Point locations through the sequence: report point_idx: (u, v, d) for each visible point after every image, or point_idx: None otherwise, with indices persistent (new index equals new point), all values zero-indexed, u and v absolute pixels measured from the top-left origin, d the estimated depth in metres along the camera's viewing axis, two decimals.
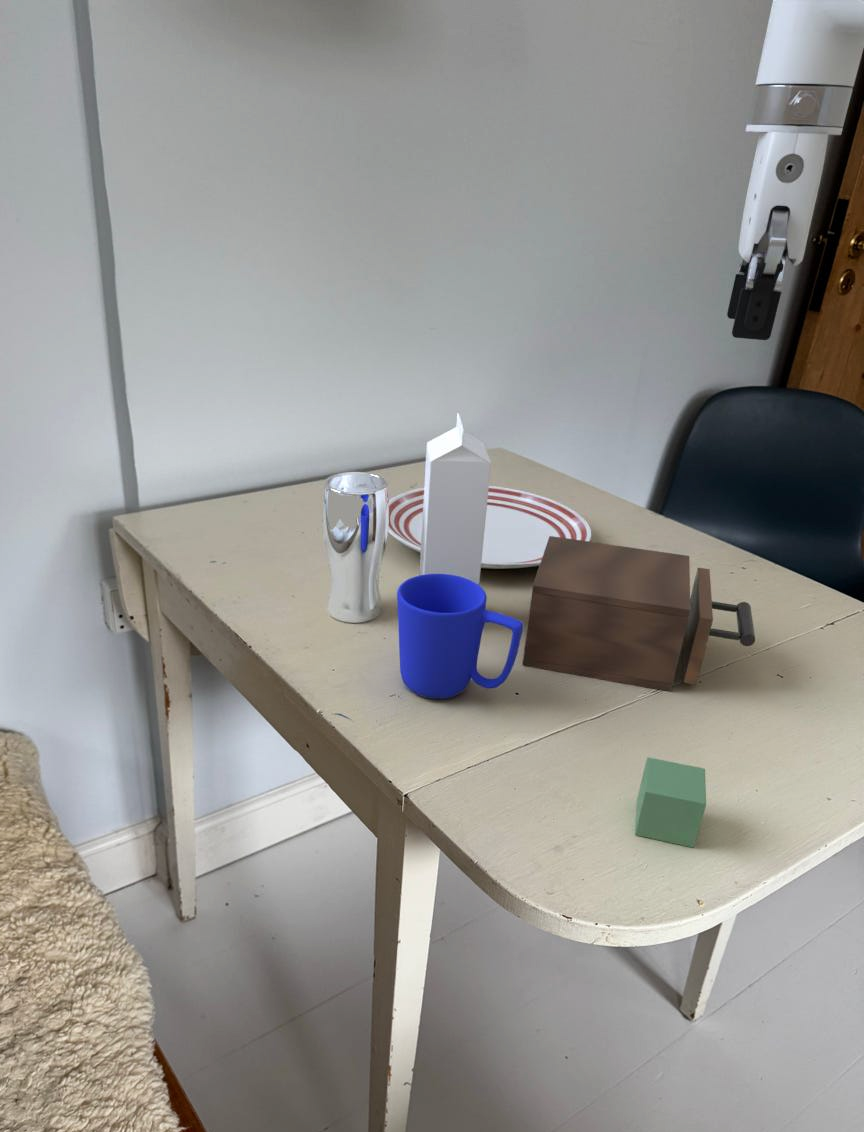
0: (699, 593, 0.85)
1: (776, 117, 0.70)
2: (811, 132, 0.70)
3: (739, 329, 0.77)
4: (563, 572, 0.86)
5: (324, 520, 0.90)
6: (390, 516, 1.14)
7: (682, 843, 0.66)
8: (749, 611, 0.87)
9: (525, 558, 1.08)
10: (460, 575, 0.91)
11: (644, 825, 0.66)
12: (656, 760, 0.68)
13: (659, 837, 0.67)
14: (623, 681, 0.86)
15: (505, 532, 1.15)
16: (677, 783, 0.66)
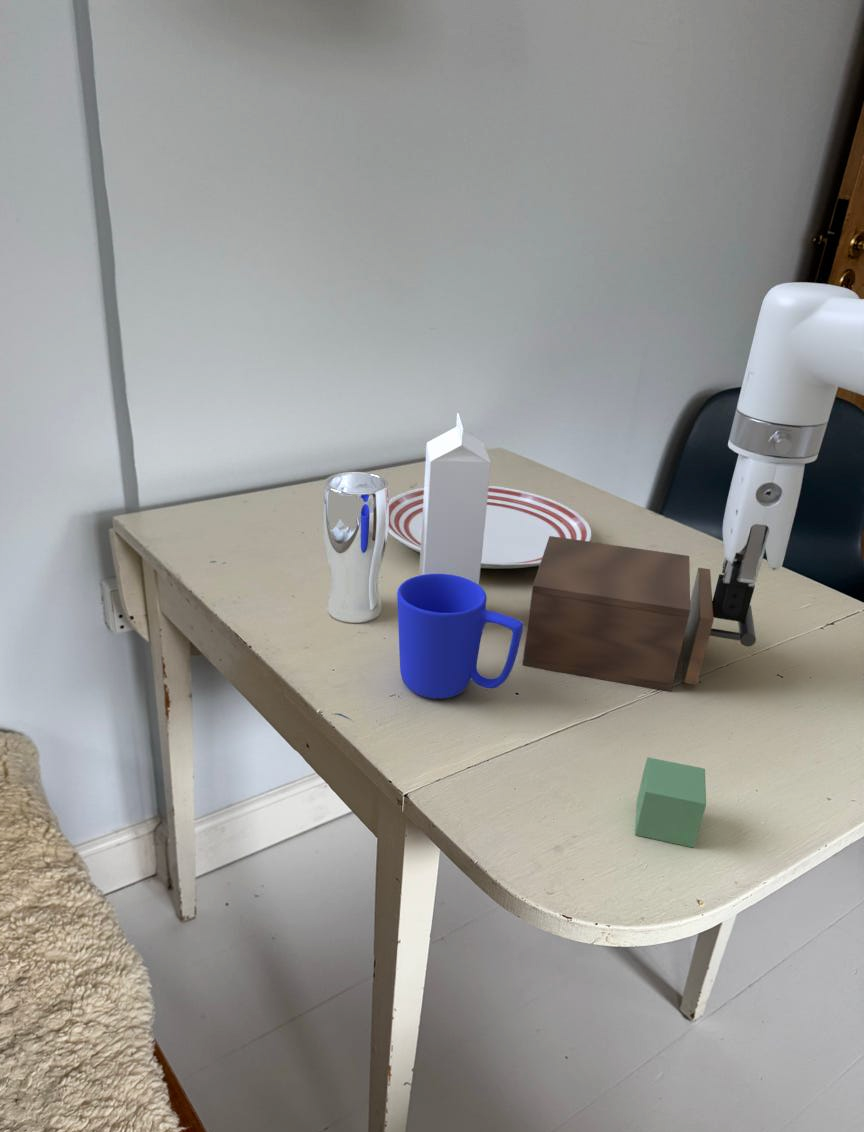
0: (700, 593, 0.85)
1: (756, 447, 0.75)
2: (788, 463, 0.74)
3: (717, 611, 0.85)
4: (563, 572, 0.86)
5: (324, 520, 0.90)
6: (390, 516, 1.14)
7: (682, 843, 0.66)
8: (750, 611, 0.87)
9: (525, 558, 1.08)
10: (460, 575, 0.91)
11: (644, 825, 0.66)
12: (656, 760, 0.68)
13: (659, 837, 0.67)
14: (623, 681, 0.86)
15: (505, 532, 1.15)
16: (677, 783, 0.66)
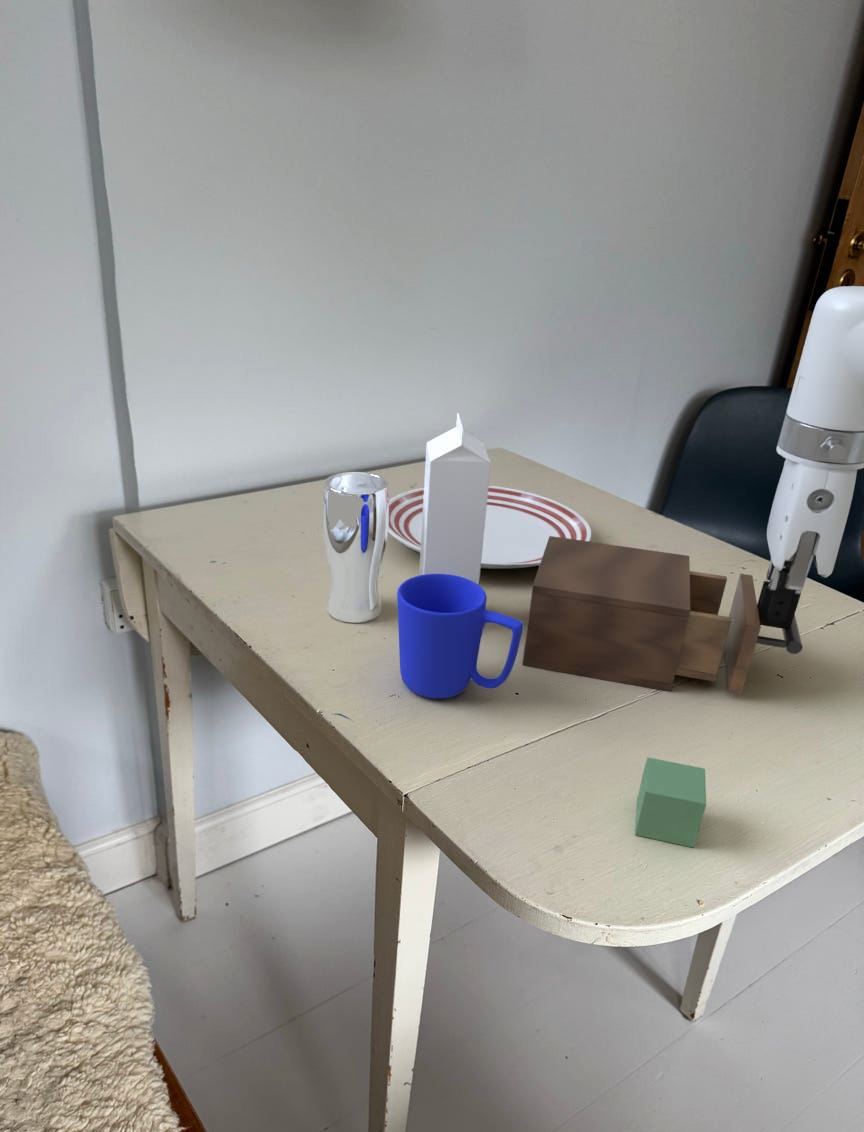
0: (744, 600, 0.84)
1: (807, 453, 0.74)
2: (841, 469, 0.73)
3: (762, 618, 0.84)
4: (563, 572, 0.86)
5: (324, 520, 0.90)
6: (390, 516, 1.14)
7: (682, 843, 0.66)
8: (794, 618, 0.86)
9: (525, 558, 1.08)
10: (460, 575, 0.91)
11: (644, 825, 0.66)
12: (656, 760, 0.68)
13: (659, 837, 0.67)
14: (623, 681, 0.86)
15: (505, 532, 1.15)
16: (677, 783, 0.66)
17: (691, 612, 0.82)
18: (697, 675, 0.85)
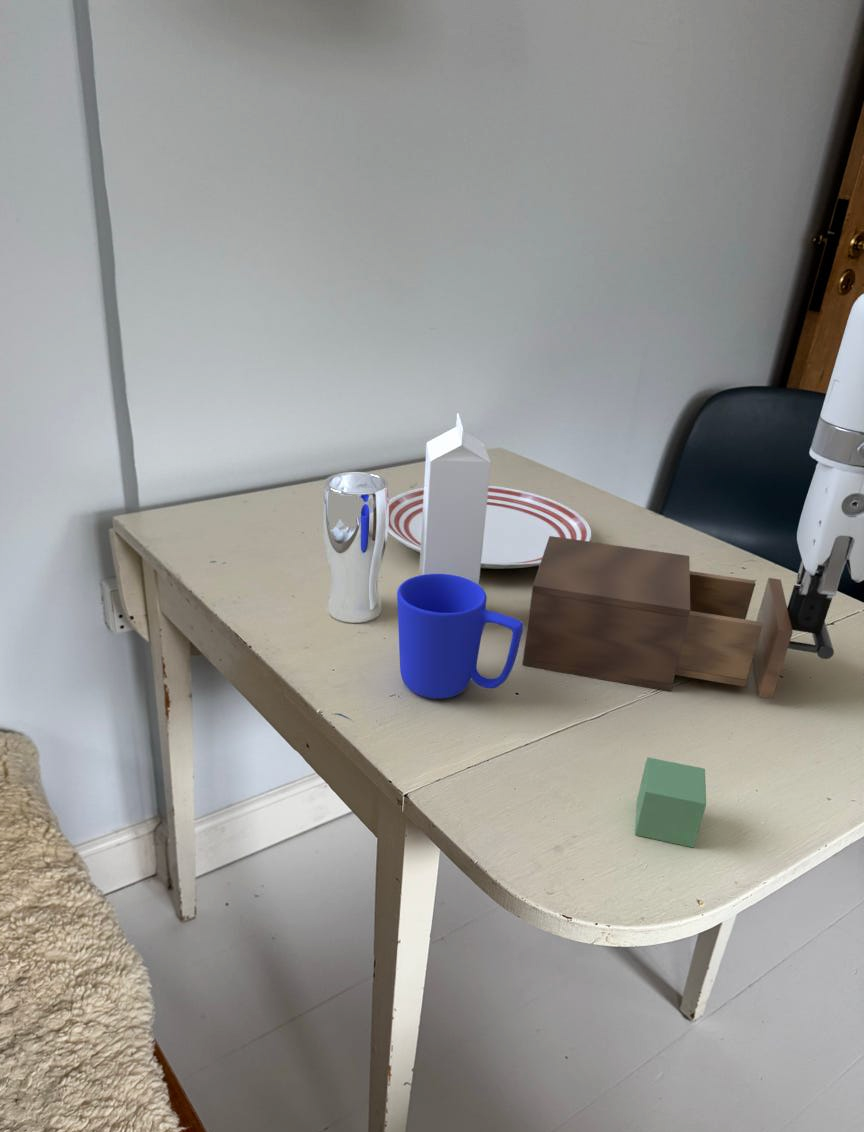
0: (774, 604, 0.84)
1: (842, 457, 0.73)
2: None
3: (792, 623, 0.84)
4: (563, 572, 0.86)
5: (324, 520, 0.90)
6: (390, 516, 1.14)
7: (682, 843, 0.66)
8: (824, 623, 0.85)
9: (525, 558, 1.08)
10: (460, 575, 0.91)
11: (644, 825, 0.66)
12: (656, 760, 0.68)
13: (659, 837, 0.67)
14: (623, 681, 0.86)
15: (505, 532, 1.15)
16: (677, 783, 0.66)
17: (722, 617, 0.81)
18: (727, 680, 0.84)
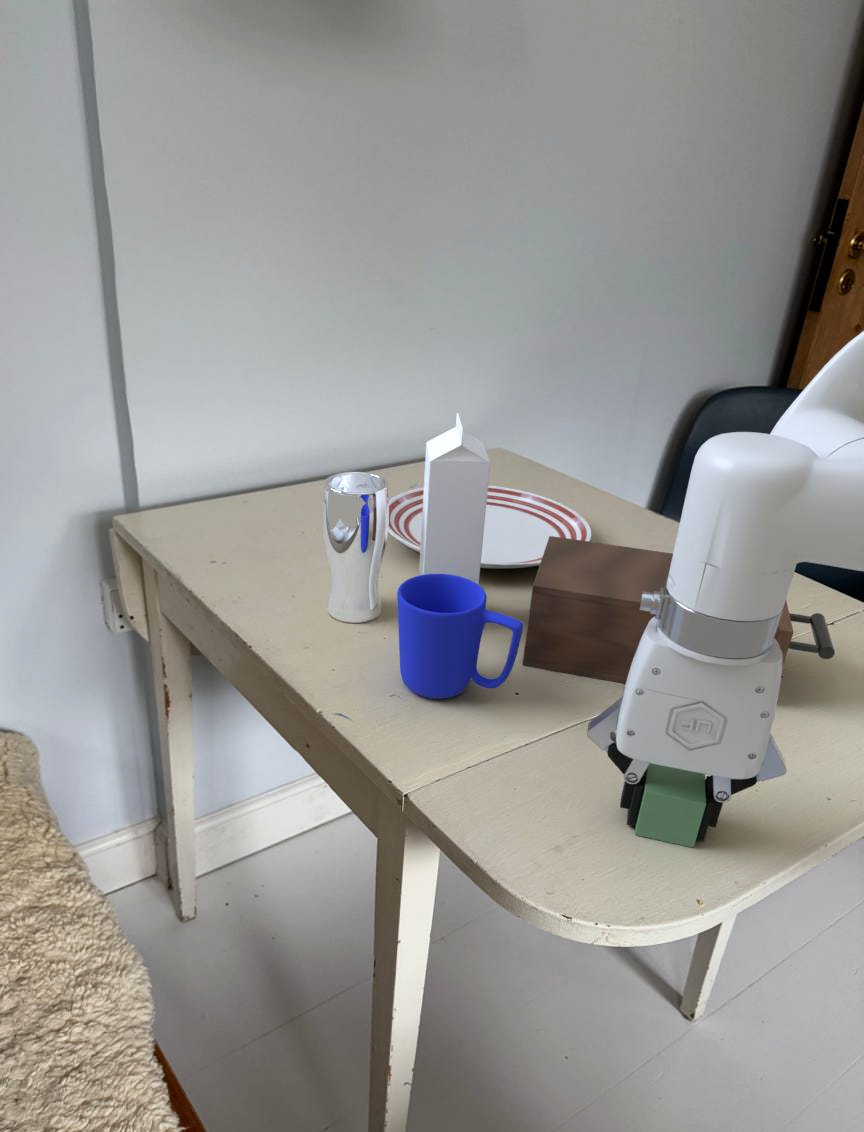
0: None
1: None
2: (658, 634, 0.60)
3: None
4: (563, 572, 0.86)
5: (324, 520, 0.90)
6: (390, 516, 1.14)
7: (682, 843, 0.66)
8: (825, 623, 0.85)
9: (525, 558, 1.08)
10: (459, 575, 0.91)
11: (644, 825, 0.66)
12: None
13: (659, 837, 0.67)
14: (623, 681, 0.86)
15: (505, 532, 1.15)
16: (677, 783, 0.66)
17: None
18: None
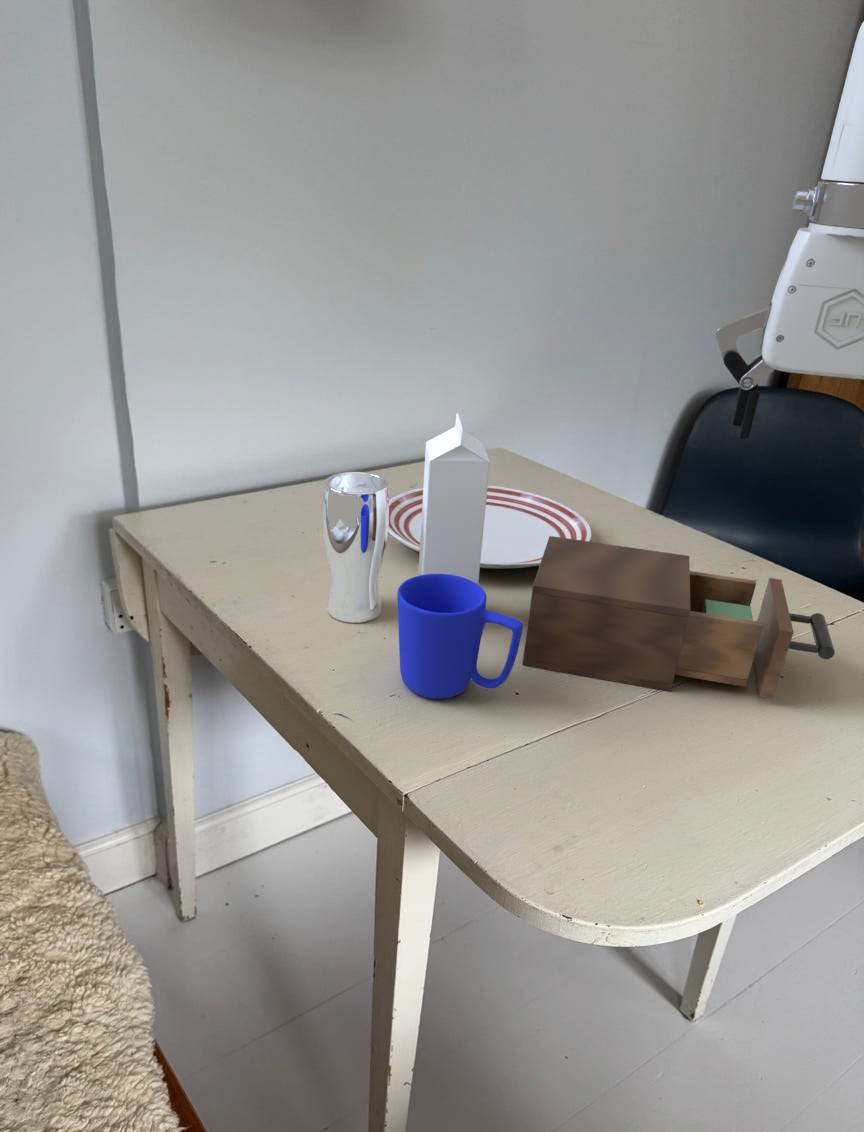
0: (775, 605, 0.84)
1: None
2: (812, 230, 0.64)
3: None
4: (563, 572, 0.86)
5: (324, 520, 0.90)
6: (390, 516, 1.14)
7: None
8: (825, 623, 0.85)
9: (525, 558, 1.08)
10: (459, 574, 0.91)
11: None
12: (712, 601, 0.88)
13: None
14: (623, 681, 0.86)
15: (505, 532, 1.15)
16: (730, 614, 0.85)
17: (723, 617, 0.81)
18: (727, 680, 0.84)
